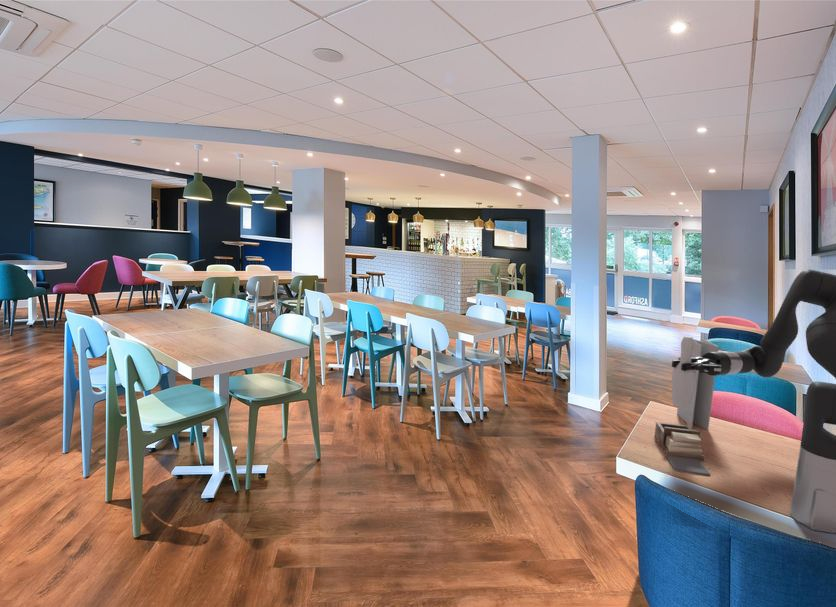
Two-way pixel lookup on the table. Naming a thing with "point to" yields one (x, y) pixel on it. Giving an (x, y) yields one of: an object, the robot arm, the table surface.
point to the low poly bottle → (683, 376)
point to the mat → (687, 465)
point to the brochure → (700, 390)
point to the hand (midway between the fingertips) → (677, 365)
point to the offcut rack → (679, 440)
